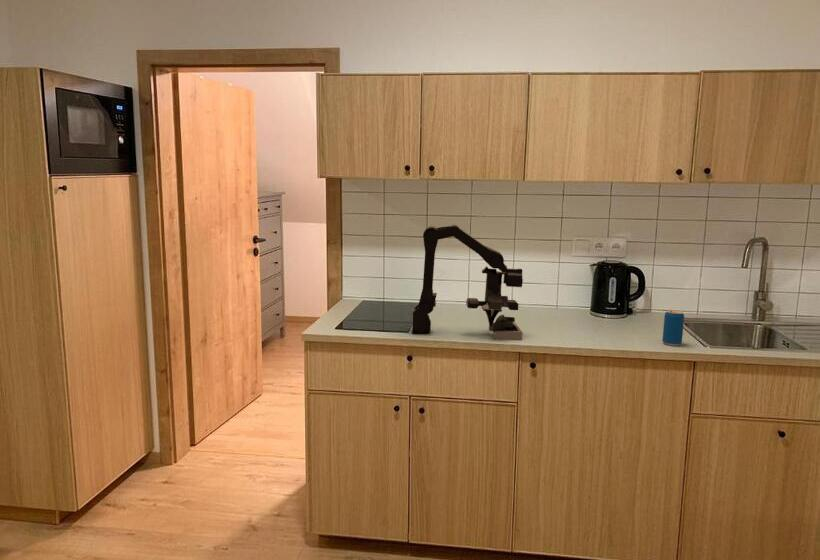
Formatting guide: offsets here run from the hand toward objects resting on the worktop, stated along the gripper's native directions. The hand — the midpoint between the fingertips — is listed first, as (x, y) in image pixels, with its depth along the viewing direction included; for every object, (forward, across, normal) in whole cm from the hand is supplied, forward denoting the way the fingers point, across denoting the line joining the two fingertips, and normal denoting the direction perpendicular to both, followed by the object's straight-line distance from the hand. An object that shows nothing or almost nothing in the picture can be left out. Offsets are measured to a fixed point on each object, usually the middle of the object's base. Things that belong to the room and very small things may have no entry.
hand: (490, 326), depth 237 cm
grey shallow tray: (+3, +5, 0) cm, 6 cm away
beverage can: (+1, +64, -11) cm, 65 cm away
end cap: (+3, +5, -1) cm, 6 cm away
